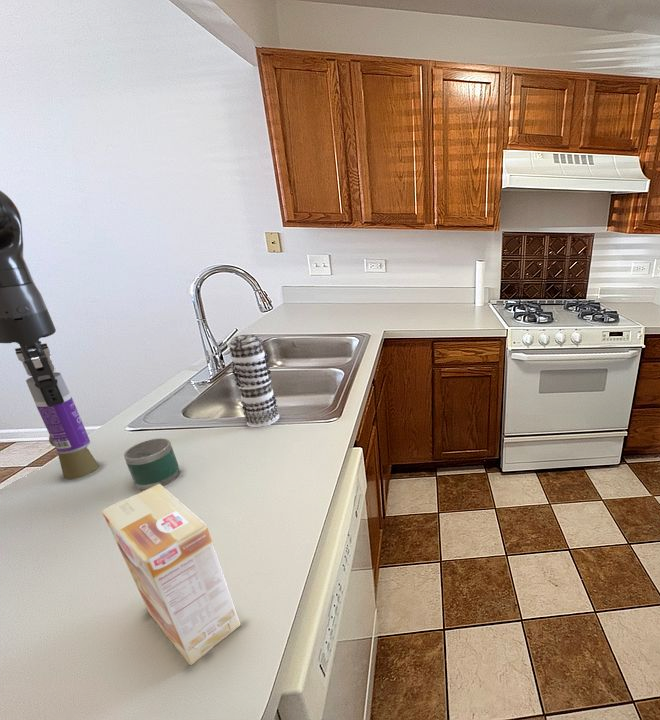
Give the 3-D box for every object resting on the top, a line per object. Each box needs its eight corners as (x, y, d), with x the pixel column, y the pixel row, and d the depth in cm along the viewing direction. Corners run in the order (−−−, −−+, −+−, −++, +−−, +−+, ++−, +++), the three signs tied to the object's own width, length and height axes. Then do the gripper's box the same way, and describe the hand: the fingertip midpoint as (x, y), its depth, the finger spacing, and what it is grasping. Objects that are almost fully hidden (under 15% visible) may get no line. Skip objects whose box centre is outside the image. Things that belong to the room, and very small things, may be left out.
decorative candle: (287, 417, 115) (270, 335, 106) (256, 431, 108) (235, 345, 98) (270, 408, 120) (252, 329, 110) (238, 422, 112) (216, 338, 103)
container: (94, 444, 78) (65, 375, 73) (62, 456, 74) (29, 384, 69) (85, 438, 80) (56, 370, 75) (53, 449, 77) (21, 378, 71)
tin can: (127, 492, 85) (114, 461, 82) (147, 469, 92) (136, 440, 89) (169, 487, 87) (158, 456, 84) (186, 465, 94) (177, 436, 91)
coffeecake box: (144, 609, 61) (98, 509, 53) (196, 575, 66) (160, 481, 59) (188, 669, 53) (141, 561, 46) (243, 624, 58) (208, 523, 51)
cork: (61, 482, 88) (41, 440, 84) (65, 469, 93) (45, 429, 88) (98, 471, 92) (80, 431, 88) (99, 459, 96) (82, 420, 92)
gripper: (-19, 308, 69) (22, 395, 75) (-19, 323, 60) (28, 420, 67) (42, 300, 74) (76, 382, 81) (50, 313, 66) (88, 404, 72)
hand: (54, 399), depth 74 cm, fingers closed on container, 4 cm apart
